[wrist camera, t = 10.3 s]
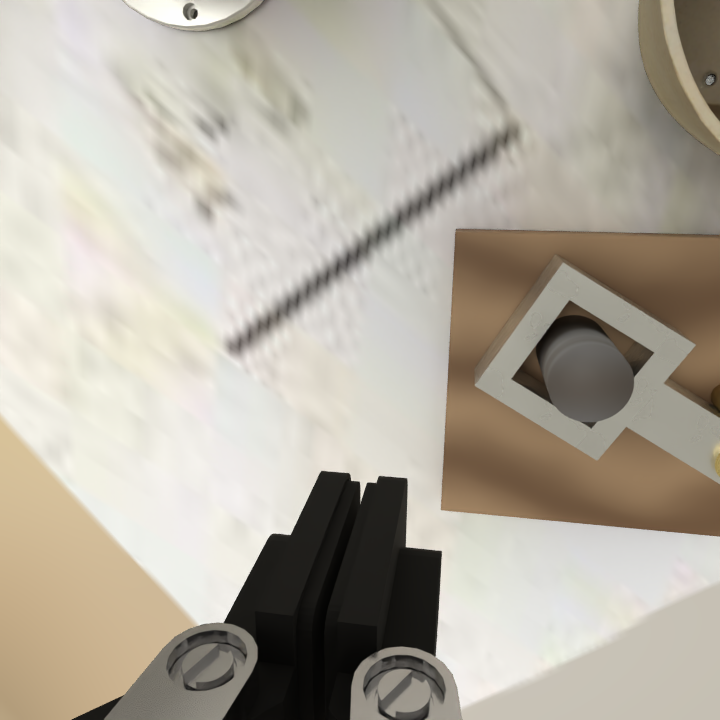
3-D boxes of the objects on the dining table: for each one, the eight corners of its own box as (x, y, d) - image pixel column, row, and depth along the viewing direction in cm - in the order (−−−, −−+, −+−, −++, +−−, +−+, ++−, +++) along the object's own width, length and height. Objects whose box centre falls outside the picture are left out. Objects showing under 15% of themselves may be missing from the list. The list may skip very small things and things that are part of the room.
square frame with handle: (474, 368, 37) (474, 389, 33) (555, 253, 34) (564, 264, 31) (688, 499, 37) (710, 533, 34) (786, 396, 34) (820, 423, 31)
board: (456, 228, 36) (452, 246, 29) (792, 236, 33) (878, 258, 26) (442, 498, 42) (436, 567, 35) (728, 524, 39) (784, 605, 32)
